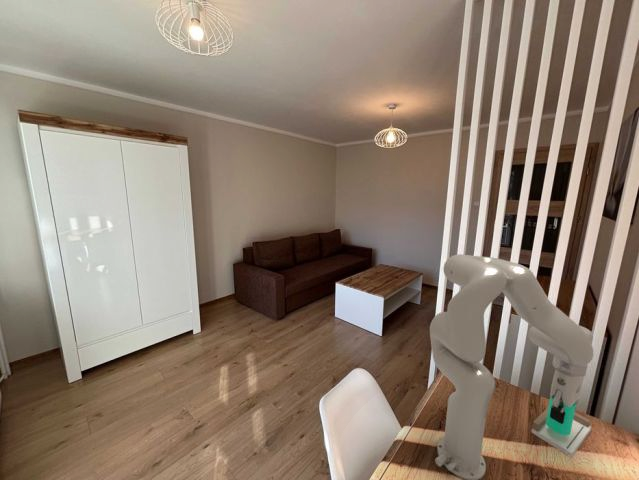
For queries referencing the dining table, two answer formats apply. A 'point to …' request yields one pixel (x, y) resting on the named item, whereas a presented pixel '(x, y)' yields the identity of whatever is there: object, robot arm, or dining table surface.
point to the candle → (568, 419)
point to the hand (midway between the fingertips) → (559, 416)
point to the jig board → (559, 441)
